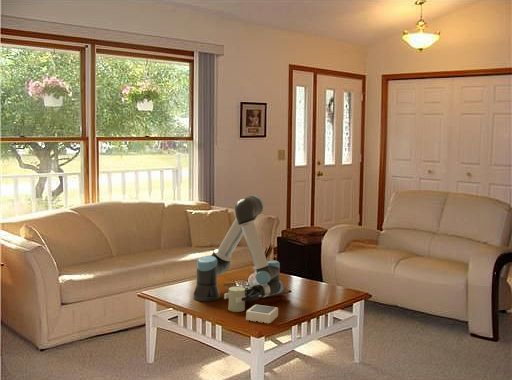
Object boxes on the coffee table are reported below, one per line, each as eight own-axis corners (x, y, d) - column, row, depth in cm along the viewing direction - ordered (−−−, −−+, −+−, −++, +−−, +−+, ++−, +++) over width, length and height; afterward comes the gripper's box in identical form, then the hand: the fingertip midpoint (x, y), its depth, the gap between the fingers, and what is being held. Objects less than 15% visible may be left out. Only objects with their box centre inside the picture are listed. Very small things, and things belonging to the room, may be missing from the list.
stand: (246, 319, 324) (246, 310, 324) (255, 312, 336) (255, 303, 336) (269, 323, 319) (269, 314, 319) (277, 316, 332) (278, 307, 331)
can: (230, 312, 336) (230, 290, 335) (226, 307, 345) (226, 286, 343) (246, 311, 339) (247, 289, 337) (242, 306, 347) (242, 285, 346)
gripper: (273, 301, 346) (243, 309, 330) (247, 293, 361) (217, 300, 346) (274, 288, 345) (244, 296, 329) (247, 280, 360) (217, 287, 345)
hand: (230, 298), depth 338 cm, fingers closed on can, 9 cm apart
